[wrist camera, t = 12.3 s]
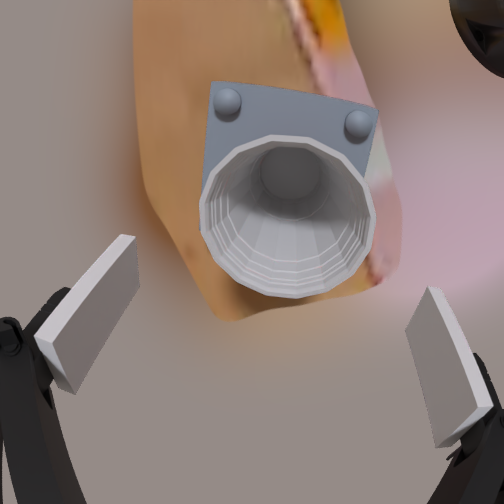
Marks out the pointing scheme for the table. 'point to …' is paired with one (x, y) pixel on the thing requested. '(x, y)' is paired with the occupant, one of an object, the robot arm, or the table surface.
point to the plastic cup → (287, 216)
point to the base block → (284, 121)
